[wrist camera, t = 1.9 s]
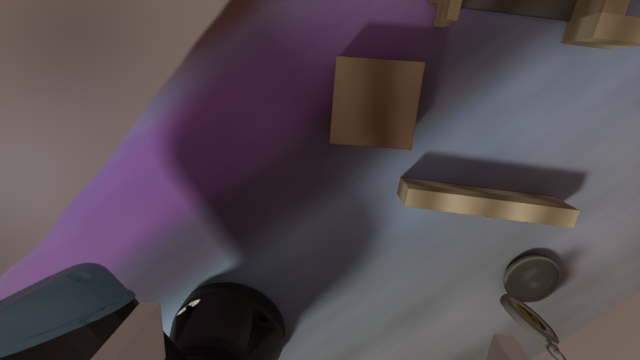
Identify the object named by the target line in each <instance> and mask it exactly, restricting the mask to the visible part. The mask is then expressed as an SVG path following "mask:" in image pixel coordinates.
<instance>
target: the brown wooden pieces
mask: <svg viewBox="0 0 640 360" xmlns="http://www.w3.org/2000/svg"><path fill="white" fill-rule="evenodd" d="M630 1H631V0H428V1H427V3H429V4H437V8H436V12H435V17H434V22H433V27H439V28H443V27H445V26H447V25H449V24H451V23H453V22H455V21H457V20H458V17H459V12H460V8H469V9H477V10H485V11H493V12H500V13H508V14H516V15H524V16H532V17H540V18H548V19H556V20H564V21H568V23H567V26H566V29H565V32H564V35H563V38H562V41H561V43H565V44H572V45H580V46H588V47H596V48H604V49H617V48H625V47H634V46H640V17H635V16H627V15H625V14H626V11H627V9H628V6H629V4H630ZM397 194H398V196H399V197H400V199H401V201H402V203H403V204H404V206H407V207H415V208H423V209H430V210H438V211H446V212H454V213H461V214H469V215H477V216H485V217H492V218H500V219H508V220H516V221H524V222H531V223H539V224H547V225H555V226H562V227H570V228H573V227H574V225H575V222H576V220H577V217H578V215H579V213H580V210H578V209H576V208H574V207H572V206H570V205H568V204H567V203H565V202H563V201H561V200H559V199H557V198H555V197H550V196H543V195H535V194H527V193H519V192H511V191H504V190H496V189H488V188H480V187H473V186H465V185H457V184H449V183H441V182H434V181H426V180H418V179H410V178H402V177H401V178H400V182H399V187H398V192H397Z"/></svg>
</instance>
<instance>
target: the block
mask: <svg viewBox="0 0 640 360" xmlns="http://www.w3.org/2000/svg"><path fill="white" fill-rule="evenodd" d="M424 68H425V62H413V61H399V60H385V59H371V58H357V57H343V56H336V67H335V79H334V92H333V104H332V117H331V129H330V144H343V145H356V146H369V147H382V148H395V149H408V150H411V147H412V141H413V135H414V129H415V123H416V117H417V111H418V104H419V98H420V92H421V86H422V80H423V74H424Z"/></svg>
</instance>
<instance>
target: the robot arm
mask: <svg viewBox="0 0 640 360" xmlns="http://www.w3.org/2000/svg"><path fill="white" fill-rule="evenodd" d="M135 296H136V295H135V293H134V292H133V291H131V290H127V288H126V287H125V286H124V285H123V284H122V283H121V282H120V281H119V280H118V279H117V278H116V277H115V276H114V275H113V274H112V273H111V272H110V271H109V270H108V269H107V268H105V267H104V266H102V265H100V264H96V263H82V264H78V265H75V266H72V267H70V268H67V269H65V270H63V271H60V272H58V273H56V274H54V275H51V276H49V277H47V278H45V279H43V280H41V281H39V282H37V283H35V284H33V285H30V286H28V287H26V288H24V289H22V290H20V291H18V292H16V293H14V294H12V295H10V296H8V297H6V298H4V299H2V300H0V360H278V359H279V357H280V354H281V351H282V347H283V342H284V336H285V327H284V322H283V319H282V316H281V314H280V312H279V311H278V309H277V308H276V306H275V305H274V304H273V303H272V302H271V301H270V300H269V299H268V298H267V297H266V296H264V295H263V294H261V293H260V292H258V291H256V290H254V289H252V288H250V287H247V286H244V285H240V284H235V283H215V284H211V285H207V286H204V287H202V288H200V289H198V290H196V291H195V292H193V293H192V294H191V295H190V296H189V297H188V298H187V299H186V300H185V302H184V303H183V304H182V306H181V307H180V309H179V310H178V312H177V314H176V316H175V318H174V320H173V323H172V327H171V332H170V336H169V337H168V336H167V335H166V334H165V332H164V331H163V325H162V315H161V304H160V303H151V302H140V303H139V302H138V301H137V300H136V299H135V298H134V297H135ZM486 360H531V359H530V357H529V356H528V355H527V353H526V352H525V351H524V349H523V348H522V346H521V345H520V344H519V342H518V341H517V339H516V338H515V337H514V335H503V334H494V335H493V338H492V341H491V345H490V348H489V351H488V354H487V357H486Z"/></svg>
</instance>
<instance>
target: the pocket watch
mask: <svg viewBox="0 0 640 360" xmlns="http://www.w3.org/2000/svg"><path fill="white" fill-rule="evenodd" d="M560 280H561V272H560V269H559V267H558V265H557V264H556V263H555V262H554V261H552V260H551V259H549V258H547V257H545V256H540V255H529V256H525V257H522V258H520V259H518V260H516V261H515V262H513V263H512V264H511V265H510V266H509V267H508V269H507V270H506V272H505V274H504V279H503V283H504V287H505V290H506V291H507V293H508V294H504V295H503V296H502V297H501V299H500V302H501V304H502V306H503V307H504V309H505V310H506V311H507V312H508V314H509V315H510V316H511V317H512V318H513V319H514V320H515V321H516V322H517V323H518V324H519V325H520V326H521V327H522V328H523V329H524V330H526V331H527V332H528V333H529V334H531V335H532V336H533V337H534V338H536V339H537V340H539V341H540V342H542V343H543V344H545V345H547V346H546V349H547V351H548V352H549V354H550V355H551V356H552V357H553V358H554V359H555V360H558V359H557V358H556V357H555V356H554V355H553V354H552V353H551V352H550V350H551V351H552V352H554V353H555V354H560V355H561V356H562V358H563V359H564V360H566V359H565V357H564V356H563V355H562V353H561V352H560V351H559V348H558V347H557V346H556V345H557V344H558V343H559V340H558V337H557V335H556V334H555V332H554V331H553V330H552V328H551V327H550V326H549V325H548V324H547V323H546V322H545V321H544V320H543V319H542V318H541V317H540V316H539V315H538V314H537V313H536V312H534V311H533V310H532V309H531V308H530V307H528V306H527V305H526V304H524V303H523V302H536V301H540V300H542V299H544V298H546V297H548V296H549V295H550V294H552V293H553V292H554V291H555V290H556V289H557V287H558V285H559V283H560ZM549 349H550V350H549Z"/></svg>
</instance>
